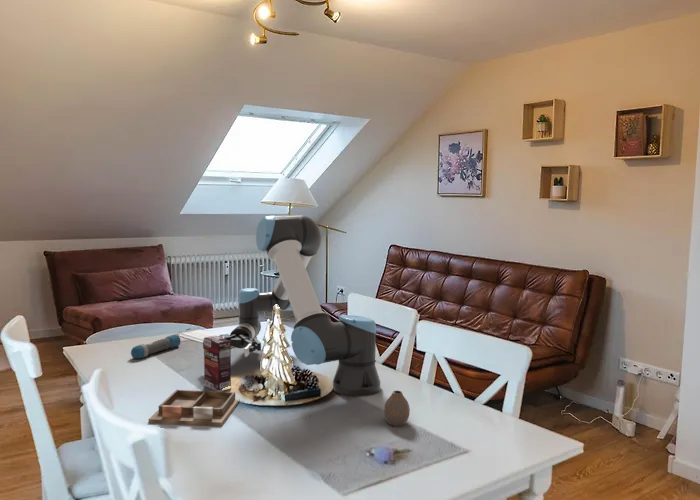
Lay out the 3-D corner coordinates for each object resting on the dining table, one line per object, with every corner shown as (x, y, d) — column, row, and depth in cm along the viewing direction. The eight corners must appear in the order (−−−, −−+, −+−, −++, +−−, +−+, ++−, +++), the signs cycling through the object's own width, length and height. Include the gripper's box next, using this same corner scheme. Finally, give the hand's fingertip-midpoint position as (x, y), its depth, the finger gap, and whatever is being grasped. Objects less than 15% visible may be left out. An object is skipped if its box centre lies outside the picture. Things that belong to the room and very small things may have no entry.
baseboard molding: (221, 352, 225) (245, 346, 234) (221, 344, 225) (245, 339, 234) (175, 338, 245) (199, 333, 254) (175, 331, 244) (199, 326, 254)
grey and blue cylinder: (181, 347, 229) (180, 335, 229) (138, 361, 210) (138, 348, 210) (171, 345, 232) (171, 333, 231) (128, 359, 212) (128, 346, 212)
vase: (388, 429, 154) (389, 397, 153) (380, 419, 160) (381, 388, 159) (413, 426, 156) (414, 395, 155) (404, 417, 162) (404, 386, 161)
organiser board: (239, 401, 172) (239, 388, 171) (221, 426, 154) (221, 411, 154) (173, 398, 173) (173, 385, 173) (148, 422, 156) (148, 408, 155)
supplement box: (203, 386, 184) (203, 337, 183) (216, 382, 188) (216, 335, 186) (218, 393, 178) (218, 343, 177) (231, 389, 182) (231, 340, 180)
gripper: (275, 347, 212) (262, 364, 191) (209, 344, 214) (188, 361, 193) (275, 327, 211) (262, 342, 190) (208, 324, 213) (188, 339, 192)
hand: (225, 352), depth 191 cm, fingers open, 13 cm apart
